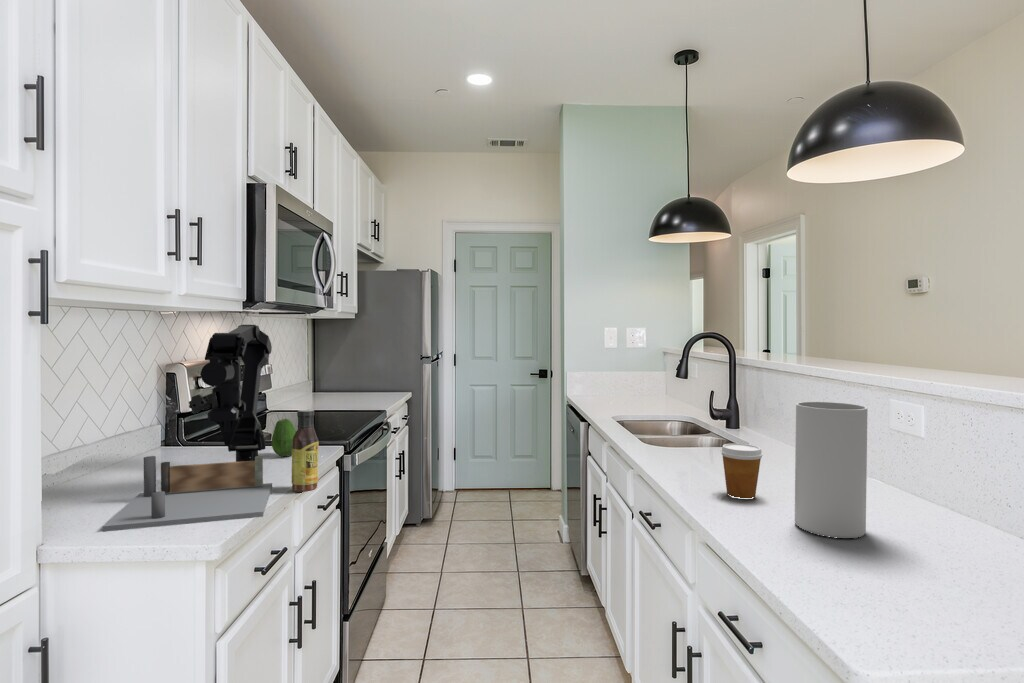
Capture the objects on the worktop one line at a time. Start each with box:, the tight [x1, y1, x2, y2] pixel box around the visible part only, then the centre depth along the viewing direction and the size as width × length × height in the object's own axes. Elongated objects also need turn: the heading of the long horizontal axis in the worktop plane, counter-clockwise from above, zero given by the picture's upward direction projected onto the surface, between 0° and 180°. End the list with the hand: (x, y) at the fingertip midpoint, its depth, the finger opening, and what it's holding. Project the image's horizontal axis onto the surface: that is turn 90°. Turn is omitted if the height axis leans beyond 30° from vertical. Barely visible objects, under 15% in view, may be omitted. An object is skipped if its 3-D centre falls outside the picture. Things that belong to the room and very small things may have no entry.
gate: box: [160, 455, 264, 493], centre depth 136 cm, size 22×2×7 cm, turn 109°
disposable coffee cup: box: [720, 443, 764, 498], centre depth 136 cm, size 10×10×12 cm
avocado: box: [270, 418, 297, 457], centre depth 177 cm, size 8×8×12 cm
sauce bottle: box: [291, 409, 320, 493], centre depth 140 cm, size 7×6×20 cm
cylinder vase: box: [794, 401, 869, 539], centre depth 113 cm, size 12×12×25 cm
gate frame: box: [102, 455, 273, 532], centre depth 127 cm, size 24×29×10 cm
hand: (228, 444), depth 142 cm, fingers open, 2 cm apart
